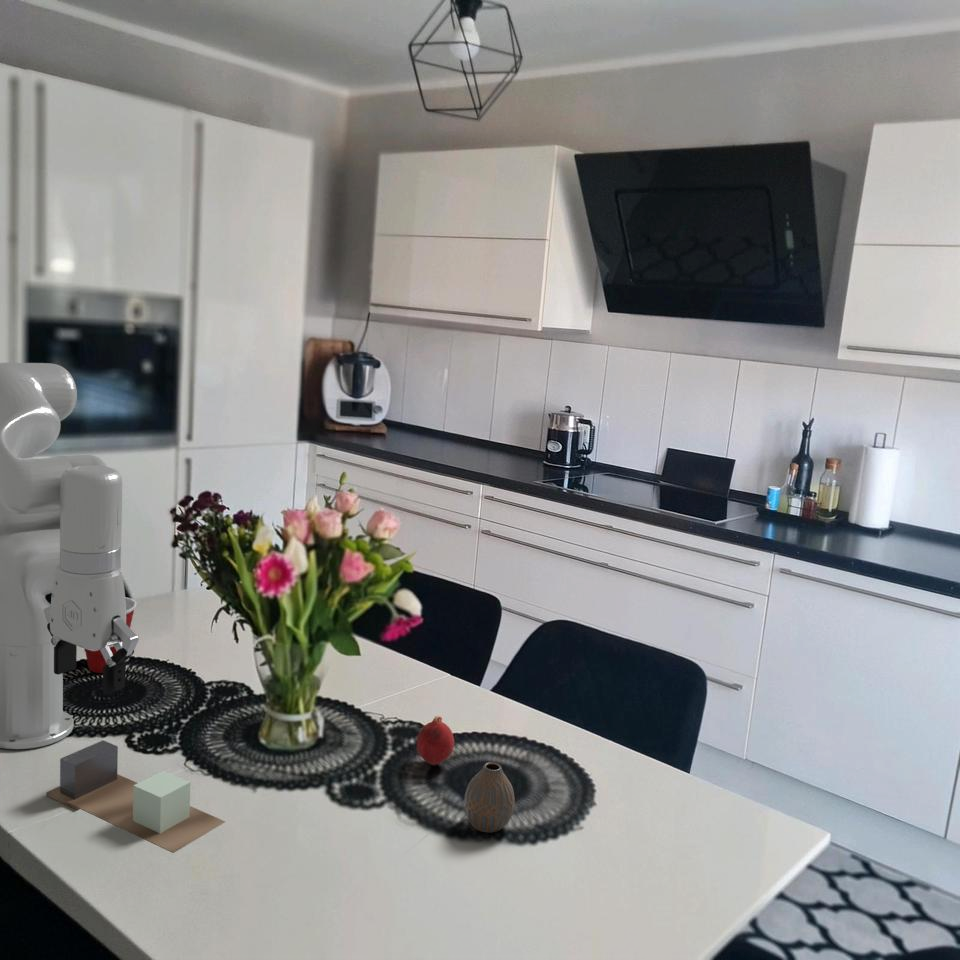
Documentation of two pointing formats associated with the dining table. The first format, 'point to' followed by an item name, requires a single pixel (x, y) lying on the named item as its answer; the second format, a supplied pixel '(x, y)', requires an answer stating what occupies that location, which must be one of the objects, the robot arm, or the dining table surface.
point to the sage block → (161, 801)
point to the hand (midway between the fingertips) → (89, 680)
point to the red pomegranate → (435, 741)
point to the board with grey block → (118, 797)
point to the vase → (489, 799)
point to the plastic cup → (96, 657)
